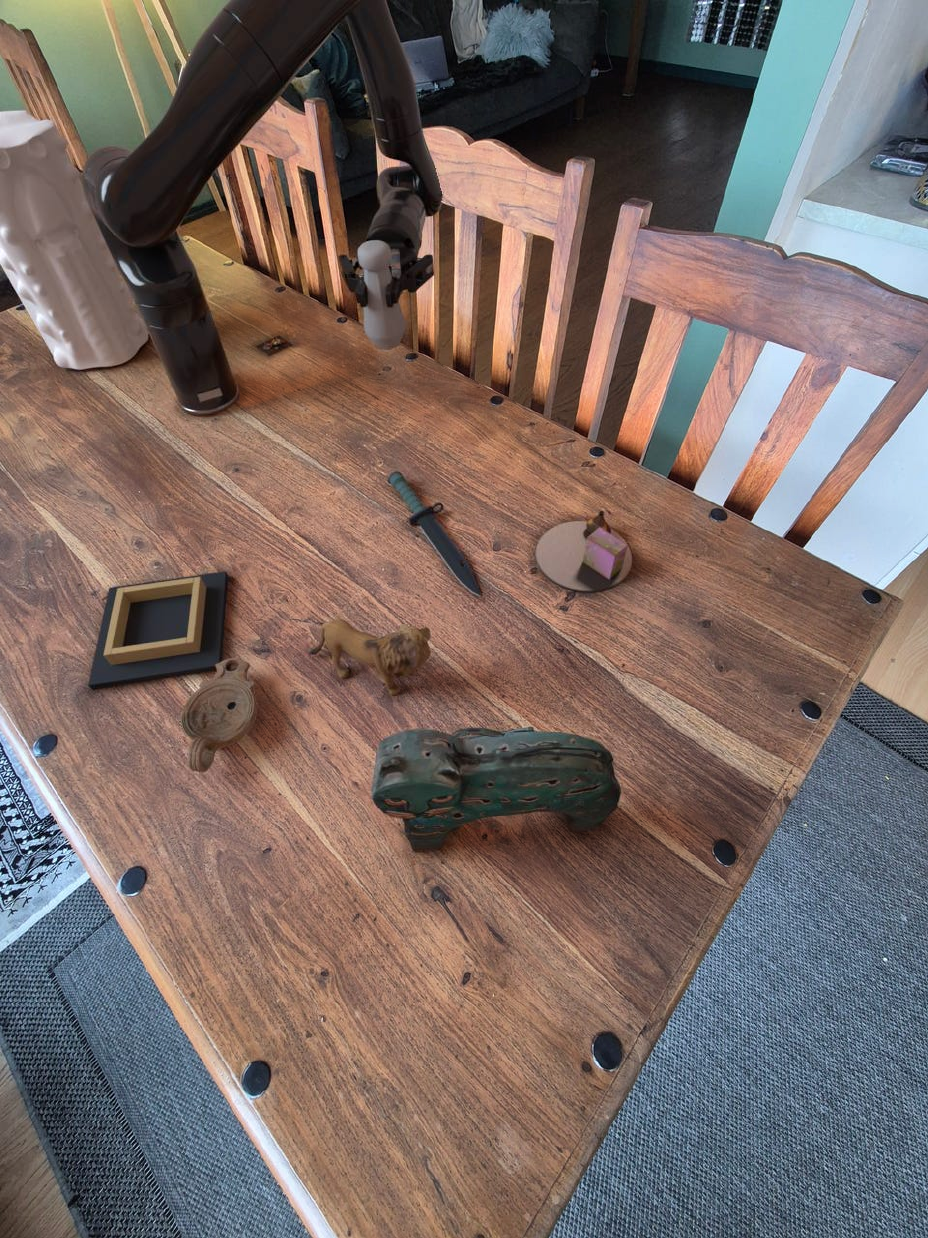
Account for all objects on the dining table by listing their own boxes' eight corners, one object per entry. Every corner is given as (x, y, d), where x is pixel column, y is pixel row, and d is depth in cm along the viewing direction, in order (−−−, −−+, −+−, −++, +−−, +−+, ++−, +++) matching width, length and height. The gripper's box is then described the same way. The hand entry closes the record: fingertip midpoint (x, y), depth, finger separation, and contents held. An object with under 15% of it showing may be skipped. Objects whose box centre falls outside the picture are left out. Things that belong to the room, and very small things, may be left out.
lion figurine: (441, 664, 71) (436, 615, 63) (427, 705, 68) (420, 658, 60) (318, 637, 73) (300, 587, 66) (299, 676, 70) (278, 628, 63)
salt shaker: (399, 355, 88) (386, 257, 78) (360, 351, 89) (343, 253, 79) (412, 333, 91) (402, 236, 81) (375, 328, 93) (360, 232, 82)
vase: (126, 312, 120) (27, 99, 94) (169, 344, 112) (75, 122, 87) (37, 349, 113) (-96, 129, 87) (77, 385, 105) (-55, 157, 80)
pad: (113, 592, 78) (101, 576, 76) (228, 576, 79) (220, 560, 77) (92, 690, 70) (78, 675, 67) (221, 670, 71) (212, 655, 69)
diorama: (287, 344, 111) (284, 333, 109) (269, 353, 110) (266, 341, 108) (278, 338, 113) (275, 327, 111) (260, 346, 111) (257, 335, 109)
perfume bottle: (651, 554, 79) (659, 528, 76) (590, 609, 75) (596, 584, 71) (576, 508, 85) (580, 482, 81) (515, 556, 80) (516, 530, 76)
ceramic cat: (394, 866, 58) (358, 777, 42) (392, 797, 62) (360, 691, 46) (611, 845, 58) (658, 749, 42) (596, 778, 62) (634, 667, 46)
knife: (380, 477, 86) (413, 462, 87) (383, 488, 88) (415, 473, 89) (466, 598, 75) (503, 579, 76) (468, 608, 77) (503, 589, 78)
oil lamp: (214, 668, 71) (198, 643, 67) (279, 674, 70) (267, 648, 66) (169, 780, 63) (148, 758, 59) (242, 787, 63) (225, 766, 59)
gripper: (342, 210, 90) (316, 270, 80) (440, 210, 89) (426, 270, 79) (352, 265, 96) (328, 327, 86) (444, 265, 95) (431, 328, 85)
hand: (375, 300), depth 83 cm, fingers closed on salt shaker, 3 cm apart
